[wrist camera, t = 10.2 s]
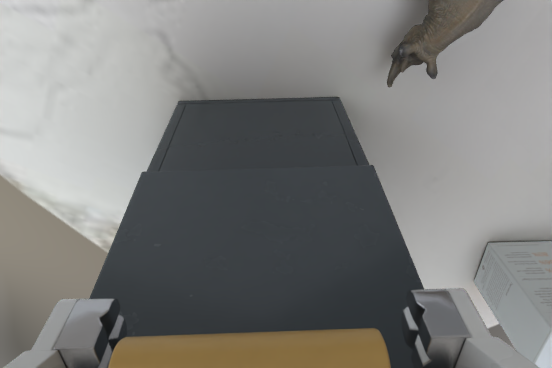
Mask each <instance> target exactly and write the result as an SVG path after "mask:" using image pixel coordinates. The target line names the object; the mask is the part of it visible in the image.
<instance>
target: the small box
mask: <svg viewBox="0 0 552 368" xmlns="http://www.w3.org/2000/svg"><path fill="white" fill-rule="evenodd" d="M474 283H475V285H476V286H477V288H478V290H479V291H480V293H481V294H482V296H483V298H484V299H485V301H486V303H487V304H488V306H489V307H490V309H491V310H492V312H493V314H494V315H495V317H496V319H497V320H498V322H499V323H500V325H501V327H502V328H503V330H504V331H505V333H506V335H507V336H508V338H509V339H510V341H511V342H512V344H513V346H514V348H515V349H516V351H517V352H519V353H520V354H522V355H523V356H524V357H526V358H527V359H528V360H530V361H531V362H533V363H534V364H535V365H537V366H538V367H539V368H552V241H532V242H495V243H488V245H487V248H486V250H485V253H484V256H483V258H482V261H481V264H480V267H479V270H478V272H477V275H476V278H475V281H474Z"/></svg>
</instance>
